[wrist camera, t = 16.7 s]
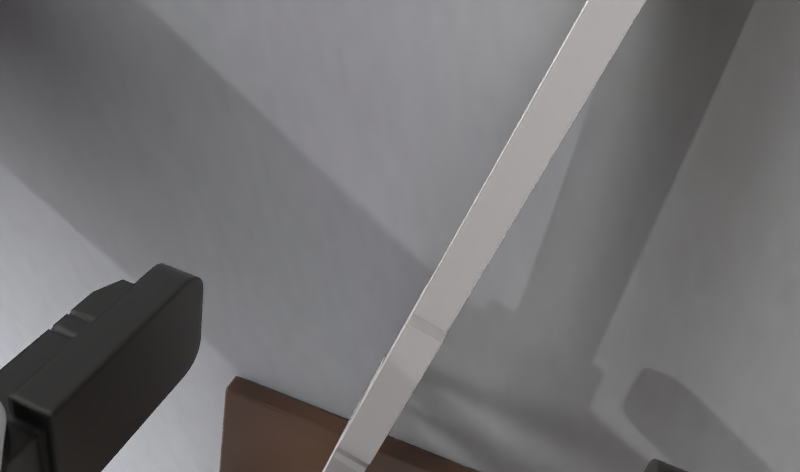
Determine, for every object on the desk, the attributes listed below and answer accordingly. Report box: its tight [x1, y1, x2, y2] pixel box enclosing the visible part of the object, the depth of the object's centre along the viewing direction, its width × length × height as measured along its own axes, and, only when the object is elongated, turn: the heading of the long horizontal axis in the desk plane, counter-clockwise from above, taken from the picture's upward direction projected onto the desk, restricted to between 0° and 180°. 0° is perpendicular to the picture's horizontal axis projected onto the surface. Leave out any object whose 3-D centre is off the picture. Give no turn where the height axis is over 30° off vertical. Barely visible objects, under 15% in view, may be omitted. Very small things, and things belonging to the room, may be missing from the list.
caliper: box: [322, 0, 646, 472], centre depth 17 cm, size 20×1×6 cm, turn 158°
